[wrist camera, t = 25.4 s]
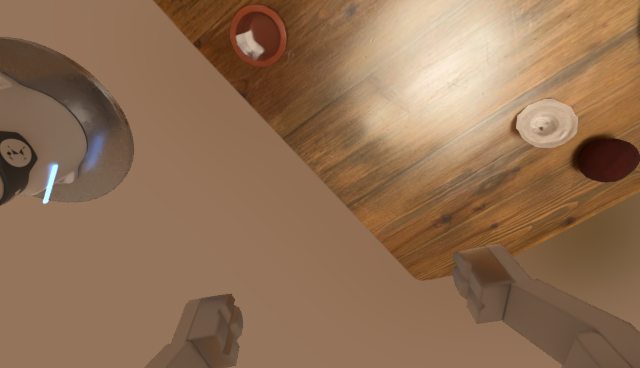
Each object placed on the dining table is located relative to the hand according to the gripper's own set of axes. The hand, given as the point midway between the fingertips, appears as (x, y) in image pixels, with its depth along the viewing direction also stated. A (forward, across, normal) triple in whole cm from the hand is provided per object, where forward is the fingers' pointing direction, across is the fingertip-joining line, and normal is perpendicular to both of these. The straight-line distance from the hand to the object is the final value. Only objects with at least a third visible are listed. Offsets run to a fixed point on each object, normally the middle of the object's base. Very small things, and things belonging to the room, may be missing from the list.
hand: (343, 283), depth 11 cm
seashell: (+39, -36, +14) cm, 55 cm away
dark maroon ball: (+39, -48, +23) cm, 66 cm away
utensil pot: (+39, +5, -7) cm, 40 cm away
